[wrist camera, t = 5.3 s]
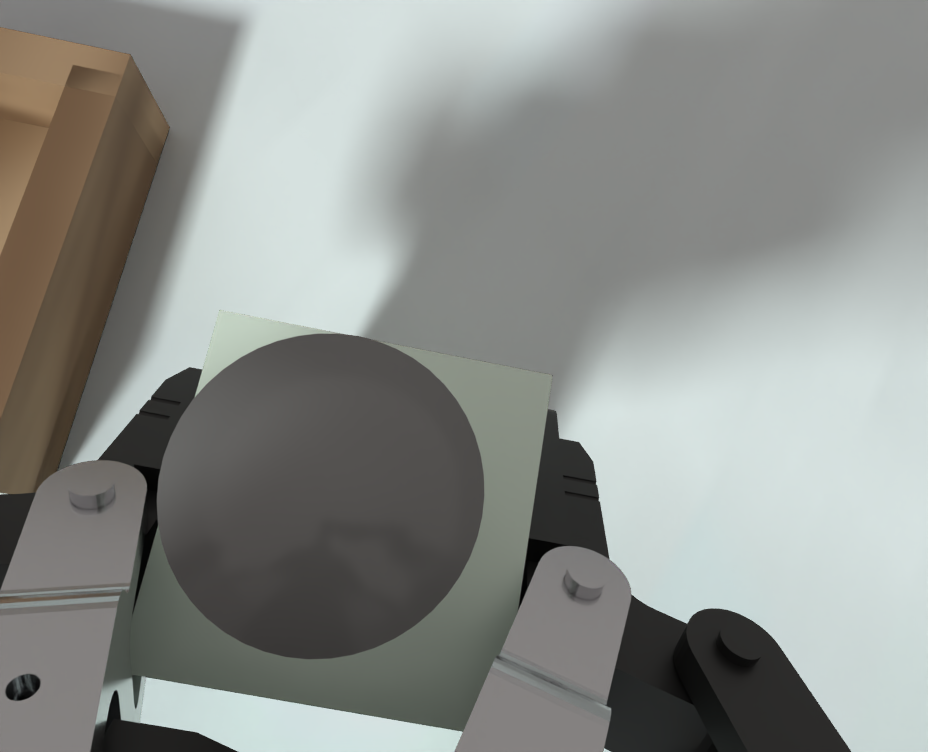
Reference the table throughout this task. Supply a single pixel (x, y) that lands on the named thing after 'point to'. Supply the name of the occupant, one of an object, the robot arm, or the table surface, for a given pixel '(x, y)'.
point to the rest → (62, 229)
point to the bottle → (341, 523)
